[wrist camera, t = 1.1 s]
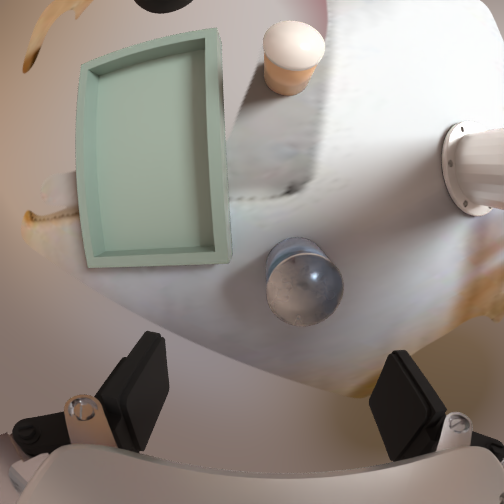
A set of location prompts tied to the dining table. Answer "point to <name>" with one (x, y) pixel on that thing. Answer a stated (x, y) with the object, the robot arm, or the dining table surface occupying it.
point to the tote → (154, 154)
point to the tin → (302, 282)
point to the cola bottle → (162, 5)
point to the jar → (291, 56)
